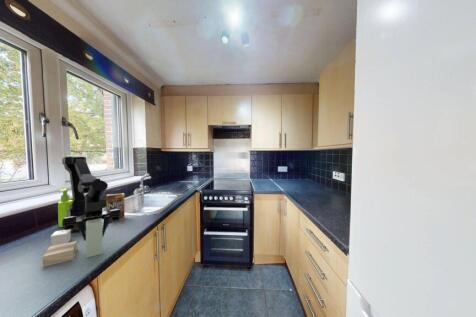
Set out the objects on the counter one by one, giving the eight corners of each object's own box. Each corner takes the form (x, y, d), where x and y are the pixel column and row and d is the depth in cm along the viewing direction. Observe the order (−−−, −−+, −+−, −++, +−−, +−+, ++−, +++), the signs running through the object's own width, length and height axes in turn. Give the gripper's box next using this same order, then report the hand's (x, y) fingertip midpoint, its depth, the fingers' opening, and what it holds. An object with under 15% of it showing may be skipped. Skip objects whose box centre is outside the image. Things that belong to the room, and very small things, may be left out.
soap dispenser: (55, 228, 94) (54, 190, 93) (61, 223, 100) (60, 188, 99) (70, 226, 96) (69, 189, 95) (75, 221, 102) (74, 187, 101)
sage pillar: (86, 252, 73) (86, 220, 72) (102, 248, 76) (102, 218, 75) (86, 258, 69) (86, 224, 68) (102, 253, 72) (102, 221, 72)
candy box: (106, 222, 103) (106, 195, 102) (106, 219, 107) (106, 194, 106) (124, 218, 108) (124, 193, 107) (124, 216, 112) (124, 192, 111)
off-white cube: (56, 242, 80) (55, 231, 80) (70, 239, 83) (70, 229, 83) (51, 247, 76) (50, 236, 76) (66, 244, 79) (66, 233, 78)
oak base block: (50, 256, 70) (49, 246, 70) (77, 250, 75) (77, 240, 75) (43, 267, 64) (42, 256, 63) (73, 260, 68) (73, 249, 68)
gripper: (62, 197, 69) (58, 236, 61) (120, 191, 80) (123, 223, 72) (65, 211, 75) (62, 249, 67) (118, 204, 87) (121, 234, 79)
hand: (94, 238), depth 71 cm, fingers closed on sage pillar, 5 cm apart
